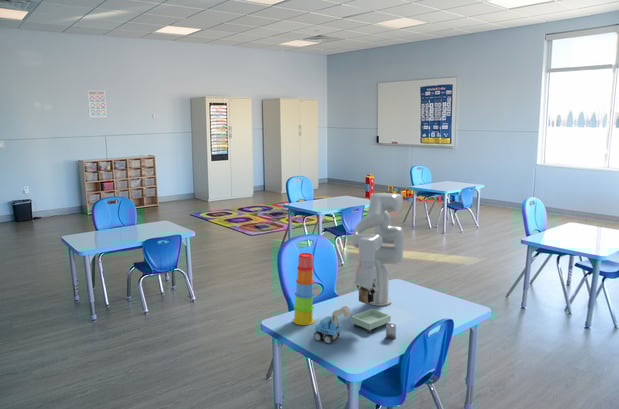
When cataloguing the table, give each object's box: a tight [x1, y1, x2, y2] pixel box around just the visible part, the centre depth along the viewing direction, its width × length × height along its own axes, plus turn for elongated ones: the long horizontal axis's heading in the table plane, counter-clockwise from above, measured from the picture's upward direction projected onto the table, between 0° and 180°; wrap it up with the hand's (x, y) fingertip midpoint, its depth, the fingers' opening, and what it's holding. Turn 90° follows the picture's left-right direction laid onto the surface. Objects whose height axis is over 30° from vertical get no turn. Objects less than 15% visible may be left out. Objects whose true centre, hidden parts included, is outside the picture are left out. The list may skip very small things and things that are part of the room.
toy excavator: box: [313, 305, 351, 345], centre depth 226 cm, size 9×17×17 cm, turn 58°
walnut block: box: [358, 288, 374, 305], centre depth 238 cm, size 5×5×6 cm
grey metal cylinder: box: [385, 322, 397, 341], centre depth 229 cm, size 4×4×6 cm
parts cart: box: [350, 308, 392, 334], centre depth 242 cm, size 12×15×5 cm
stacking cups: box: [292, 252, 315, 326], centre depth 246 cm, size 10×10×35 cm
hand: (366, 299), depth 238 cm, fingers closed on walnut block, 5 cm apart
